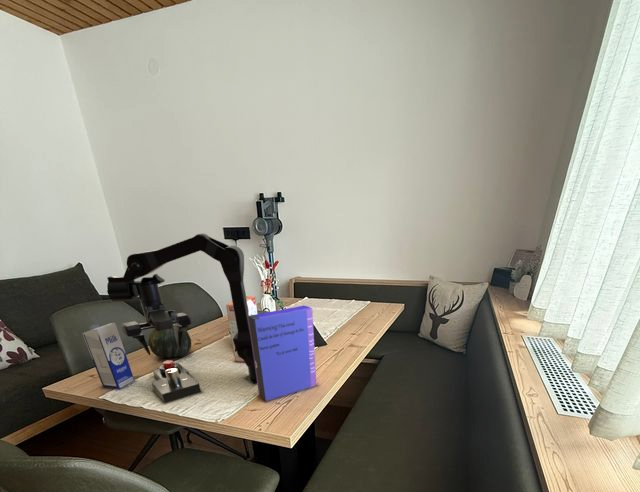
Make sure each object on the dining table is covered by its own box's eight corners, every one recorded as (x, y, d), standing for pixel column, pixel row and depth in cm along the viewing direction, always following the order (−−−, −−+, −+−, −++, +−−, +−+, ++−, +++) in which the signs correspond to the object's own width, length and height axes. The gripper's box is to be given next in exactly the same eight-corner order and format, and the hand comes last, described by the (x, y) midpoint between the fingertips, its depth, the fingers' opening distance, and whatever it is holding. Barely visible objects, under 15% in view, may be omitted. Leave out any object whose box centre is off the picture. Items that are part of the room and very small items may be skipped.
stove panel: (201, 392, 111) (198, 383, 109) (164, 403, 105) (162, 393, 103) (187, 380, 119) (185, 371, 117) (153, 390, 113) (150, 381, 112)
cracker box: (249, 362, 131) (240, 304, 120) (234, 362, 132) (224, 304, 122) (263, 349, 143) (256, 295, 132) (248, 349, 144) (240, 295, 133)
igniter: (175, 367, 120) (174, 362, 119) (165, 369, 118) (164, 364, 118) (172, 364, 122) (171, 359, 121) (163, 366, 121) (161, 361, 120)
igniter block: (190, 377, 121) (187, 366, 119) (162, 385, 116) (159, 373, 114) (180, 369, 128) (177, 358, 126) (154, 376, 123) (151, 365, 121)
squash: (142, 341, 140) (143, 316, 128) (180, 334, 149) (184, 310, 137) (157, 371, 138) (160, 348, 126) (194, 362, 146) (200, 340, 134)
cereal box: (308, 380, 115) (303, 304, 103) (316, 385, 112) (312, 307, 100) (259, 395, 107) (247, 315, 95) (266, 401, 104) (254, 318, 91)
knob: (178, 379, 113) (175, 366, 110) (182, 382, 110) (178, 369, 108) (166, 382, 111) (163, 369, 109) (170, 386, 108) (166, 372, 106)
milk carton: (119, 389, 115) (96, 328, 104) (102, 387, 116) (79, 327, 106) (135, 380, 120) (115, 321, 110) (119, 379, 122) (98, 320, 112)
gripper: (123, 310, 93) (140, 366, 101) (192, 299, 103) (203, 350, 111) (113, 303, 101) (130, 356, 109) (179, 293, 111) (190, 342, 119)
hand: (164, 351), depth 112 cm, fingers open, 9 cm apart
